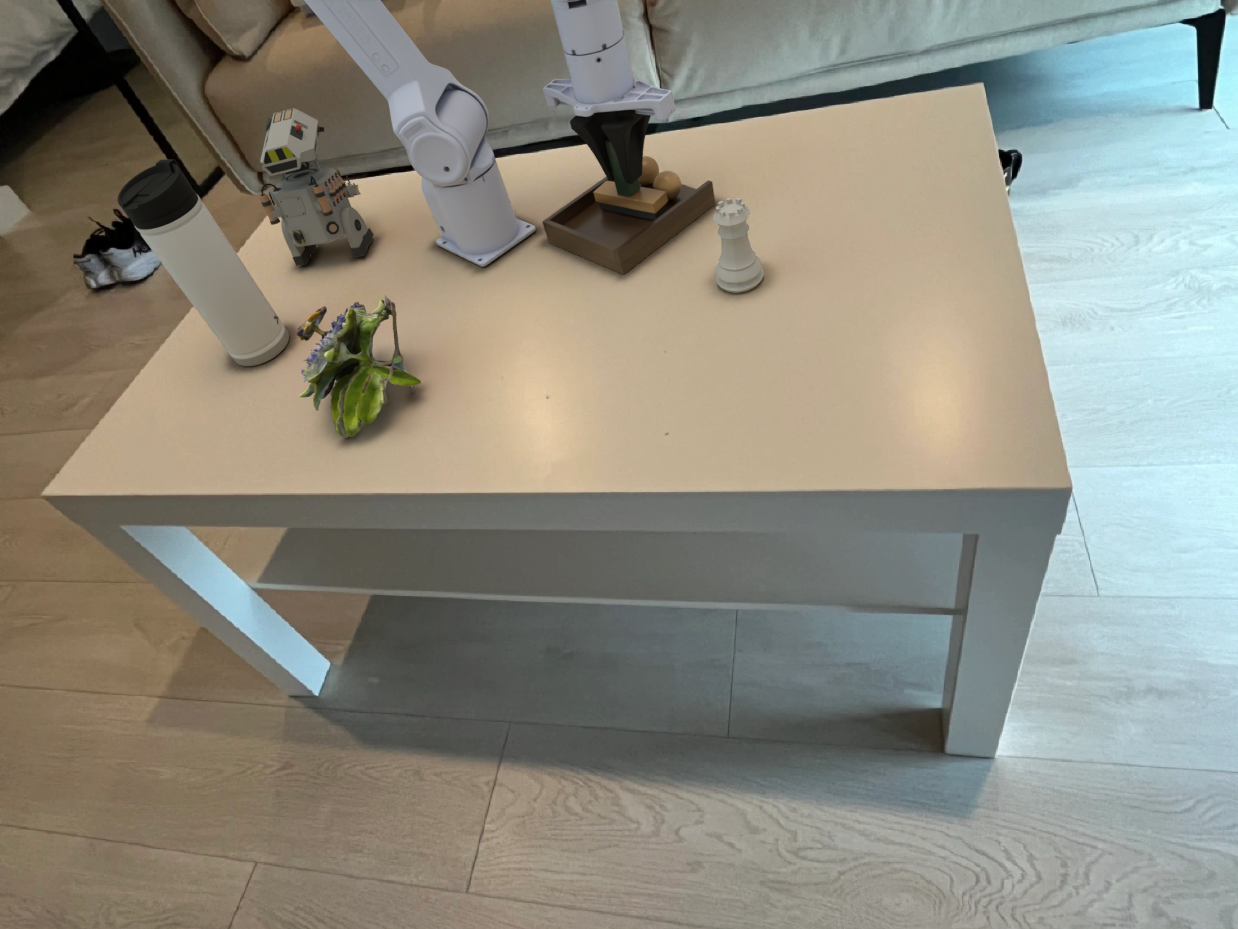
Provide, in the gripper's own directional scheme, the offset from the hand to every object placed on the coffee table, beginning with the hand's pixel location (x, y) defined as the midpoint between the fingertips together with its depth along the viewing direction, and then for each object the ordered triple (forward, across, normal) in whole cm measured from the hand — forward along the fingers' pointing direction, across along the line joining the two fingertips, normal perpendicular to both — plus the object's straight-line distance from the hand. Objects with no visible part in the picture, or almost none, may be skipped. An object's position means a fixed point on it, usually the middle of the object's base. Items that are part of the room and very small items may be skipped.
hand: (625, 177), depth 84 cm
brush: (+4, 0, 0) cm, 4 cm away
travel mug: (+5, -27, -33) cm, 43 cm away
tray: (+5, 0, -1) cm, 5 cm away
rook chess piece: (+5, +16, -5) cm, 18 cm away
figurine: (+5, -34, -15) cm, 38 cm away
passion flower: (+5, -7, -32) cm, 33 cm away
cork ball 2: (+2, +3, +3) cm, 5 cm away
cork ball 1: (+2, -2, +5) cm, 6 cm away
